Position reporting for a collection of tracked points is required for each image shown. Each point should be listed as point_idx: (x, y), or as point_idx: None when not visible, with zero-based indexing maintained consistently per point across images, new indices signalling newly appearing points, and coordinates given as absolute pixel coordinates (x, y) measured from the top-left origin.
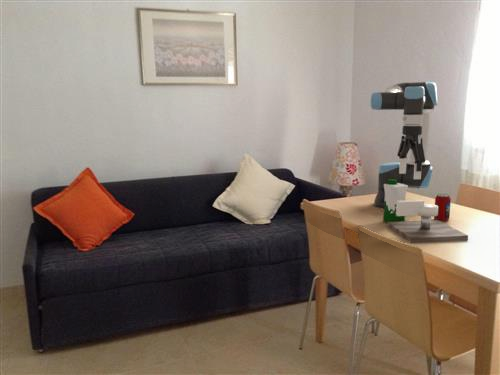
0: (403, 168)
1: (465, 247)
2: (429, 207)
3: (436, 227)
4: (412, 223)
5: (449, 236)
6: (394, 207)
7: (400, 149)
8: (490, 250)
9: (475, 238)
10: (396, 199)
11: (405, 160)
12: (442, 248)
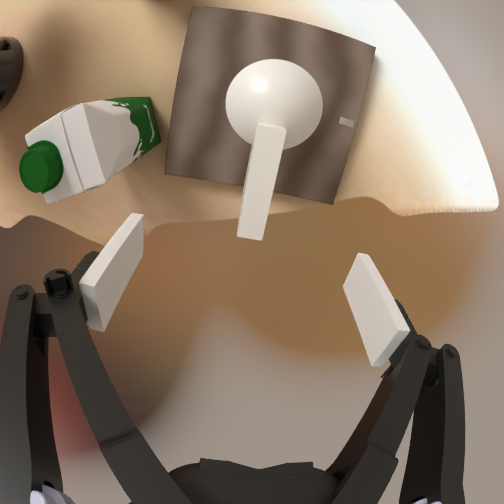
0: (129, 252)
1: (408, 104)
2: (305, 116)
3: None
4: (203, 105)
5: (363, 98)
6: (136, 153)
7: (48, 391)
8: (440, 76)
9: (363, 18)
10: (126, 156)
11: (103, 283)
12: (391, 159)
